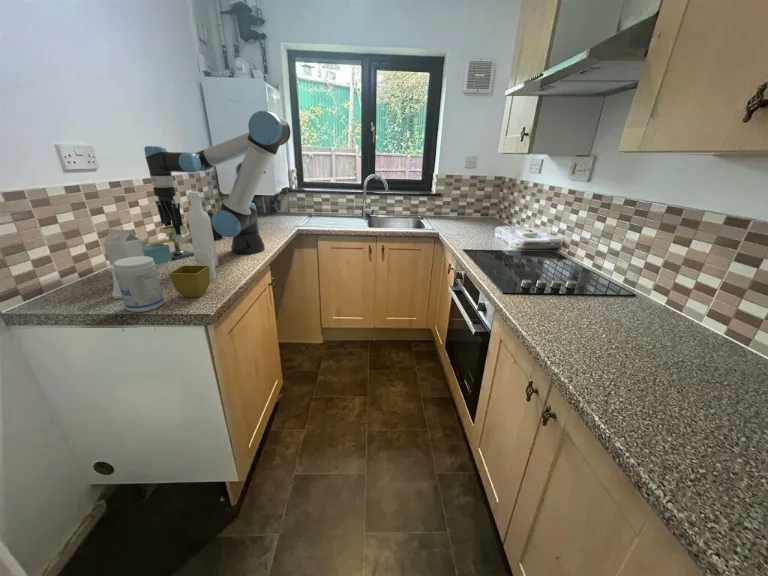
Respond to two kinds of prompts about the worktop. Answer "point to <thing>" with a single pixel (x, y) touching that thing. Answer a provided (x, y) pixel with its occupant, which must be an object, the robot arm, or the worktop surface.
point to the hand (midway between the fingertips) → (175, 240)
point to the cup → (206, 259)
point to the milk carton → (122, 245)
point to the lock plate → (181, 254)
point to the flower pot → (191, 280)
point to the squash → (215, 233)
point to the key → (176, 244)
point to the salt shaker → (115, 284)
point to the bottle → (200, 226)
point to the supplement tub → (139, 283)
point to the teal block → (157, 253)
